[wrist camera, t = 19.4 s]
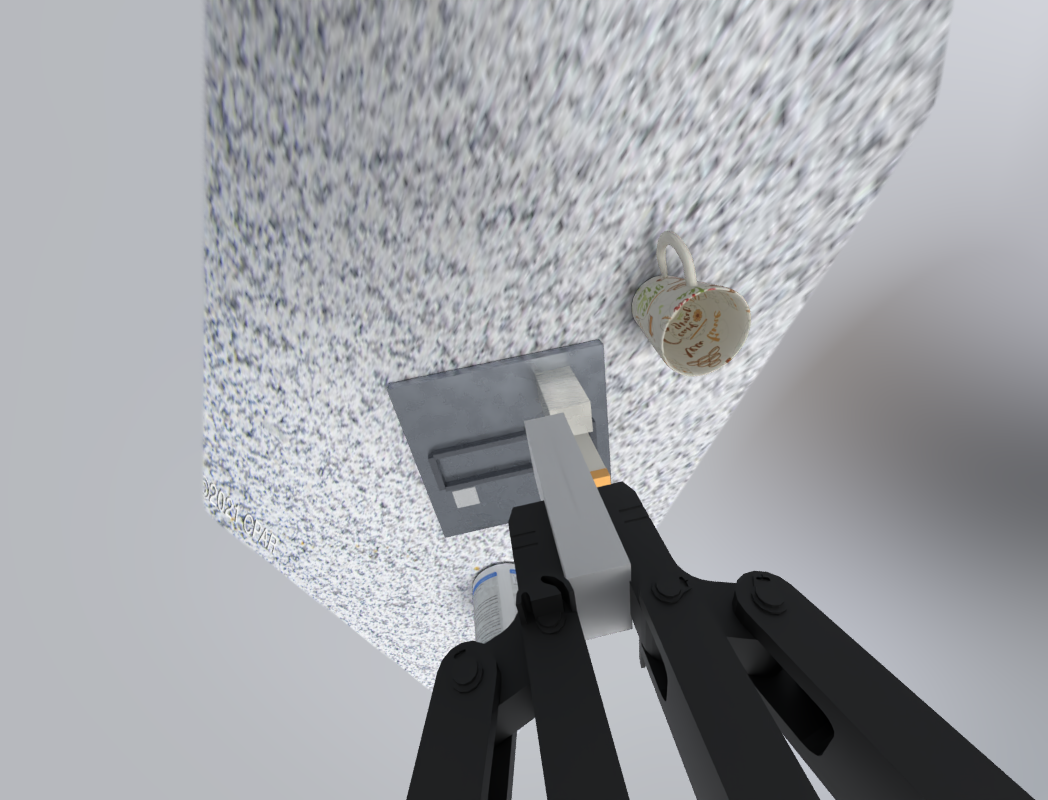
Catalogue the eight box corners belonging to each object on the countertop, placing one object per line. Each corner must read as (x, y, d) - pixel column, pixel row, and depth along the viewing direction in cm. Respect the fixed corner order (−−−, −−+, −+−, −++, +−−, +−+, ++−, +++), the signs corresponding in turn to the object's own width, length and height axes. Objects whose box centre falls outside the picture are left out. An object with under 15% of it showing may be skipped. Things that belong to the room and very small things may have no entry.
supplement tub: (477, 602, 66) (481, 705, 53) (468, 566, 61) (471, 670, 48) (534, 592, 66) (552, 690, 54) (530, 555, 61) (548, 654, 49)
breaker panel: (445, 529, 56) (443, 590, 48) (389, 383, 43) (373, 432, 35) (608, 491, 57) (633, 545, 49) (599, 339, 45) (630, 377, 36)
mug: (630, 349, 46) (670, 390, 37) (602, 243, 39) (643, 263, 31) (697, 321, 45) (754, 355, 37) (681, 208, 39) (745, 219, 30)
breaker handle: (555, 455, 50) (574, 508, 42) (552, 433, 48) (571, 484, 40) (587, 448, 50) (611, 500, 42) (585, 425, 48) (610, 475, 40)
